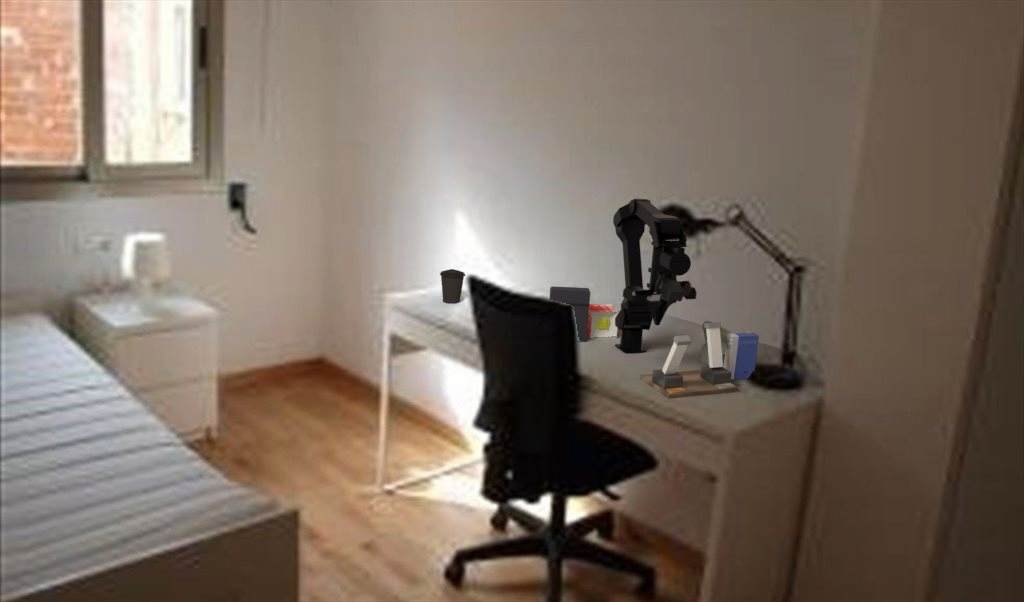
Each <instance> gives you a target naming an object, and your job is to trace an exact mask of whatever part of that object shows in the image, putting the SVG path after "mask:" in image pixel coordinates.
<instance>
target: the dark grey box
mask: <svg viewBox="0 0 1024 602" xmlns="http://www.w3.org/2000/svg"><path fill="white" fill-rule="evenodd" d="M549 300H553V301H558V302H562V303H566V304H570V305H572V306H573V307H574V311H575V317H576V324H577V331H578V337H579V340H580V341H579V342H584V343H585V342H587V337H588V335H587V325H588V313H589V304H591V303H590V301H591V291H590V289H589V288H588V287H576V286H575V287H574V286H573V287H572V286H554V285H552V286H550V288H549ZM549 300H548V301H549Z"/></svg>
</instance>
